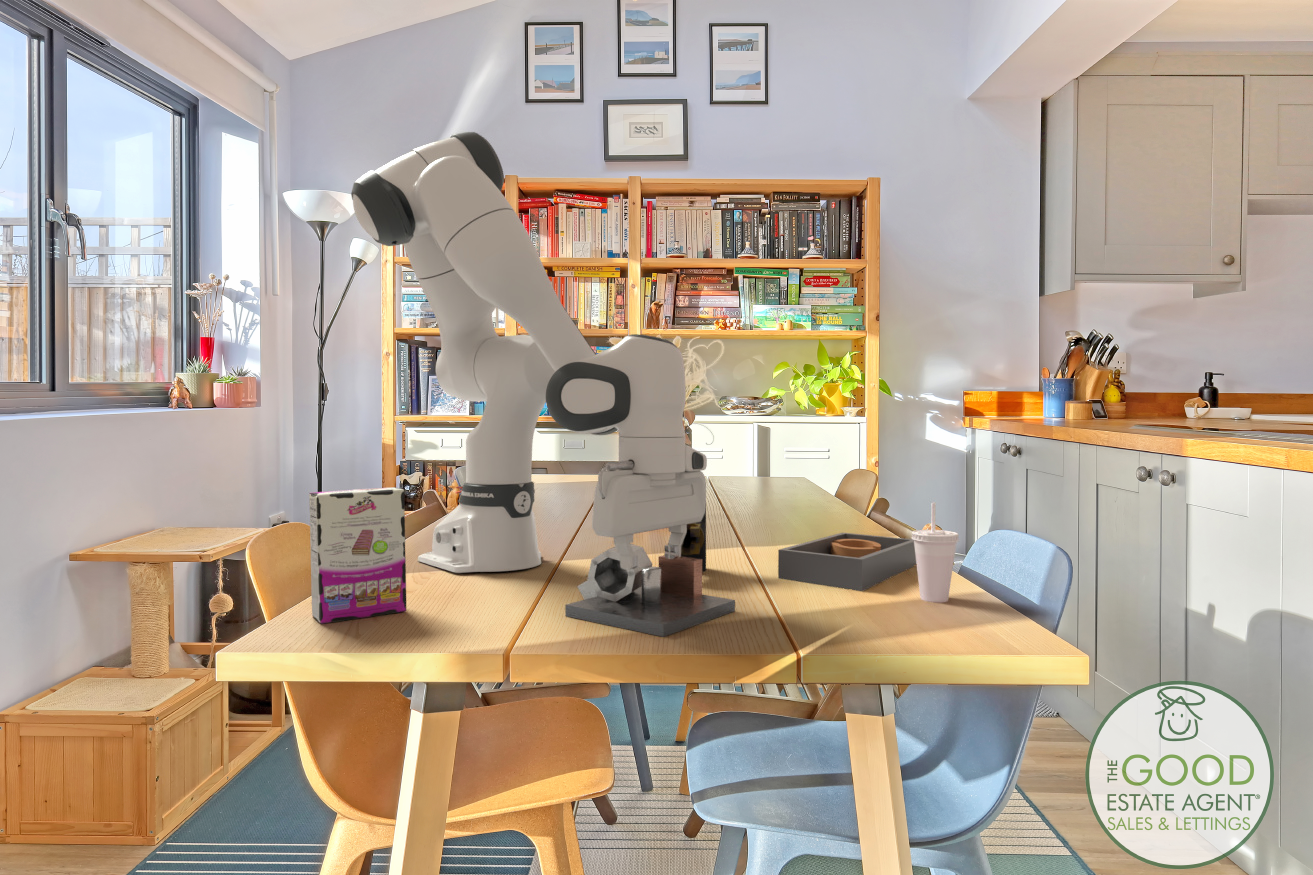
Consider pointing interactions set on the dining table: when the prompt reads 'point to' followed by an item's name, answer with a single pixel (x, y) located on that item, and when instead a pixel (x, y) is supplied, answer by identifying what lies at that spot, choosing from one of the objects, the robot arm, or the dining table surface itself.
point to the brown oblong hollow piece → (854, 547)
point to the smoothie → (934, 560)
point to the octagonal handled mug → (613, 575)
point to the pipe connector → (695, 541)
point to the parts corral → (845, 562)
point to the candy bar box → (357, 553)
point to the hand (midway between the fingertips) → (651, 563)
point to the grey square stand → (658, 601)
